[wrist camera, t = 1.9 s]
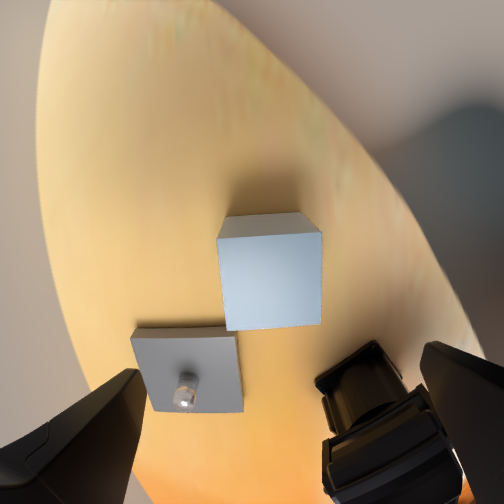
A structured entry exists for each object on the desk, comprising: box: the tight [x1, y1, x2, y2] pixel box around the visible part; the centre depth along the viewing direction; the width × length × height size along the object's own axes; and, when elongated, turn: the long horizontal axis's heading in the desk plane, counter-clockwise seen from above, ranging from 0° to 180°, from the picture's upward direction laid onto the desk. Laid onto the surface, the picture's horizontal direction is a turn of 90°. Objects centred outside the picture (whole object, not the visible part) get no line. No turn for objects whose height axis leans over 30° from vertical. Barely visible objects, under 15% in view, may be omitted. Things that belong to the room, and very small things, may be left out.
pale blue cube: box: [217, 212, 322, 331], centre depth 18 cm, size 5×5×6 cm
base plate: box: [130, 326, 244, 413], centre depth 21 cm, size 8×8×4 cm
